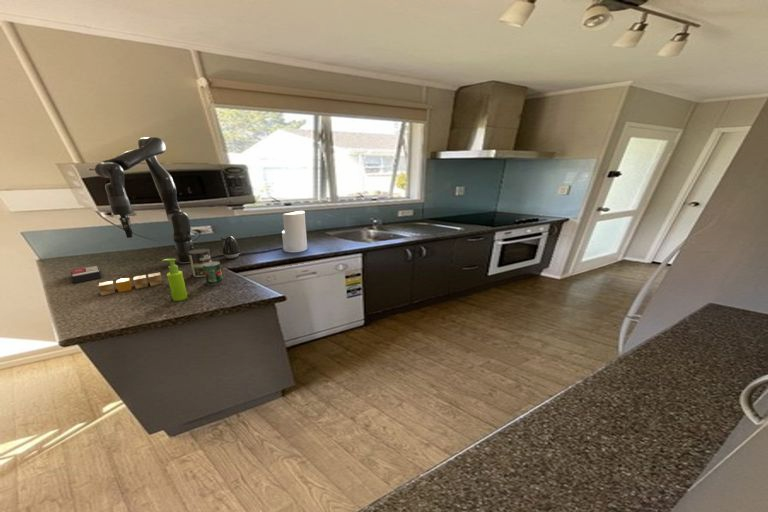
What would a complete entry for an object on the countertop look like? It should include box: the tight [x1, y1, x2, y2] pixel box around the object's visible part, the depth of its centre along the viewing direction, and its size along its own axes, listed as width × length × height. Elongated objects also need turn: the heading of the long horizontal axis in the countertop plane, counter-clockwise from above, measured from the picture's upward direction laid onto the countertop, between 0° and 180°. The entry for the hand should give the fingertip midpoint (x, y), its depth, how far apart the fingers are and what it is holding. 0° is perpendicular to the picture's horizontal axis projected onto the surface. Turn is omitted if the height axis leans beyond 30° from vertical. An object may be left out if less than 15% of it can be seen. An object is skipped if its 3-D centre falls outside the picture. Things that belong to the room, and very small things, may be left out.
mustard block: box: [115, 277, 133, 293], centre depth 145 cm, size 5×5×5 cm
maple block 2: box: [147, 272, 163, 287], centre depth 153 cm, size 5×5×5 cm
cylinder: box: [281, 210, 308, 253], centre depth 212 cm, size 17×17×28 cm
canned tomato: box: [203, 260, 224, 286], centre depth 154 cm, size 8×8×11 cm
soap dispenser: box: [161, 258, 189, 302], centre depth 134 cm, size 6×7×20 cm
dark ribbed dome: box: [220, 235, 241, 260], centre depth 193 cm, size 10×10×15 cm
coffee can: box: [188, 247, 212, 278], centre depth 165 cm, size 10×10×14 cm
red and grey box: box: [70, 265, 103, 284], centre depth 159 cm, size 11×4×15 cm
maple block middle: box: [132, 274, 149, 290], centre depth 149 cm, size 5×5×5 cm
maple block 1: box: [97, 280, 117, 296], centre depth 141 cm, size 5×5×5 cm
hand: (130, 235), depth 148 cm, fingers open, 8 cm apart
